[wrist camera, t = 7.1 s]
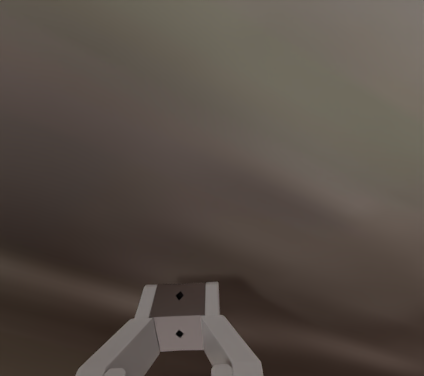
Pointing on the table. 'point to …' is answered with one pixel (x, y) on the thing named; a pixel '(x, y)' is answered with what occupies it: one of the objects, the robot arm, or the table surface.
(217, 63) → the table surface
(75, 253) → the table surface
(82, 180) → the table surface
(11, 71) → the table surface
